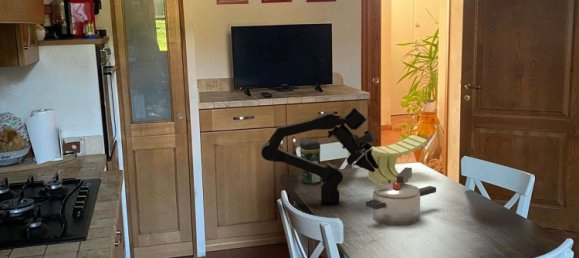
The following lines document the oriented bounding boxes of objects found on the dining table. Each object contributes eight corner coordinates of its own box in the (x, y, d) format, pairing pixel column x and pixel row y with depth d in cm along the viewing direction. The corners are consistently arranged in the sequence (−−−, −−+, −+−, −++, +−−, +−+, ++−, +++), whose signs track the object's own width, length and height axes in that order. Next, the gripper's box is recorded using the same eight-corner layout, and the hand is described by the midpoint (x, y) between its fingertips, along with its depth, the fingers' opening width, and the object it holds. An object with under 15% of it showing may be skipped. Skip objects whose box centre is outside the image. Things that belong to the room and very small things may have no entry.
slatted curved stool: (410, 172, 269) (410, 133, 266) (426, 180, 254) (427, 139, 251) (348, 177, 261) (347, 138, 258) (361, 186, 246) (361, 144, 243)
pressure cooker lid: (413, 200, 193) (414, 187, 192) (368, 196, 199) (368, 183, 198) (429, 180, 217) (429, 169, 216) (388, 177, 223) (388, 166, 222)
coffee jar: (298, 179, 260) (297, 138, 257) (315, 178, 262) (314, 137, 259) (305, 185, 251) (305, 142, 248) (323, 183, 253) (322, 140, 250)
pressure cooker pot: (388, 231, 191) (388, 205, 190) (354, 219, 204) (354, 194, 202) (450, 212, 209) (451, 188, 208) (416, 202, 222) (416, 179, 220)
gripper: (355, 128, 208) (386, 160, 206) (368, 120, 225) (396, 150, 223) (334, 149, 213) (364, 181, 210) (348, 139, 230) (376, 169, 227)
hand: (376, 169), depth 218 cm, fingers open, 5 cm apart
